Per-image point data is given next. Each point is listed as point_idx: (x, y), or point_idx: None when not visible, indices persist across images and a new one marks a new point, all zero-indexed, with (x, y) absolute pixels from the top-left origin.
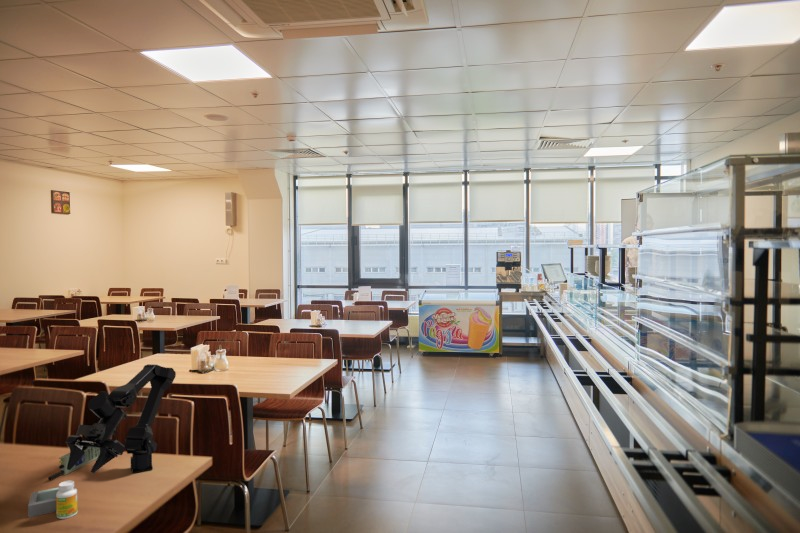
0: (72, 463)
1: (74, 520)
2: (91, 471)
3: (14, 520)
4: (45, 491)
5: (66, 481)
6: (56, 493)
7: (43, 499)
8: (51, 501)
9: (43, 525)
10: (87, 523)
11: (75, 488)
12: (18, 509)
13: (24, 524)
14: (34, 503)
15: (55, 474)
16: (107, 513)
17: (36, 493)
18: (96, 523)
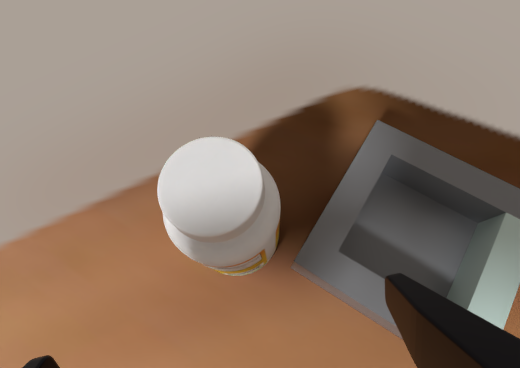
0: (433, 358)
1: (159, 220)
2: (34, 360)
3: (384, 112)
4: (500, 247)
5: (240, 199)
6: (460, 294)
7: (471, 242)
8: (331, 197)
9: (239, 142)
10: (83, 231)
11: (193, 248)
12: (484, 161)
13: (314, 115)
14: (380, 145)
15: None
16: (67, 333)
17: (512, 209)
18: (45, 249)
